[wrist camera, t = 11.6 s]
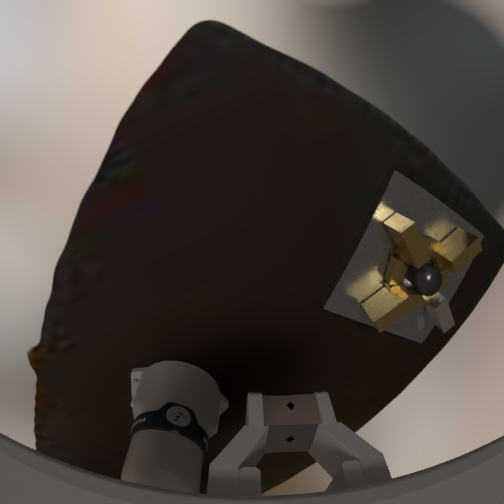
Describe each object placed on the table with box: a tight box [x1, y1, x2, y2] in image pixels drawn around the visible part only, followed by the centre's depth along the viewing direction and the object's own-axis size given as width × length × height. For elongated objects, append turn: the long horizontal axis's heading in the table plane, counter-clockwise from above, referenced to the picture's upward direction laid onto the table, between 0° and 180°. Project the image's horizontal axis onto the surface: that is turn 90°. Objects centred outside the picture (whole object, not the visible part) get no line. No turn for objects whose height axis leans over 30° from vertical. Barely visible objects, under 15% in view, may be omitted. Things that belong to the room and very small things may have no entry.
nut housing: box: [320, 169, 484, 343], centre depth 39 cm, size 22×22×7 cm
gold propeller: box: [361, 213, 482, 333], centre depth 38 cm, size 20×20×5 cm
